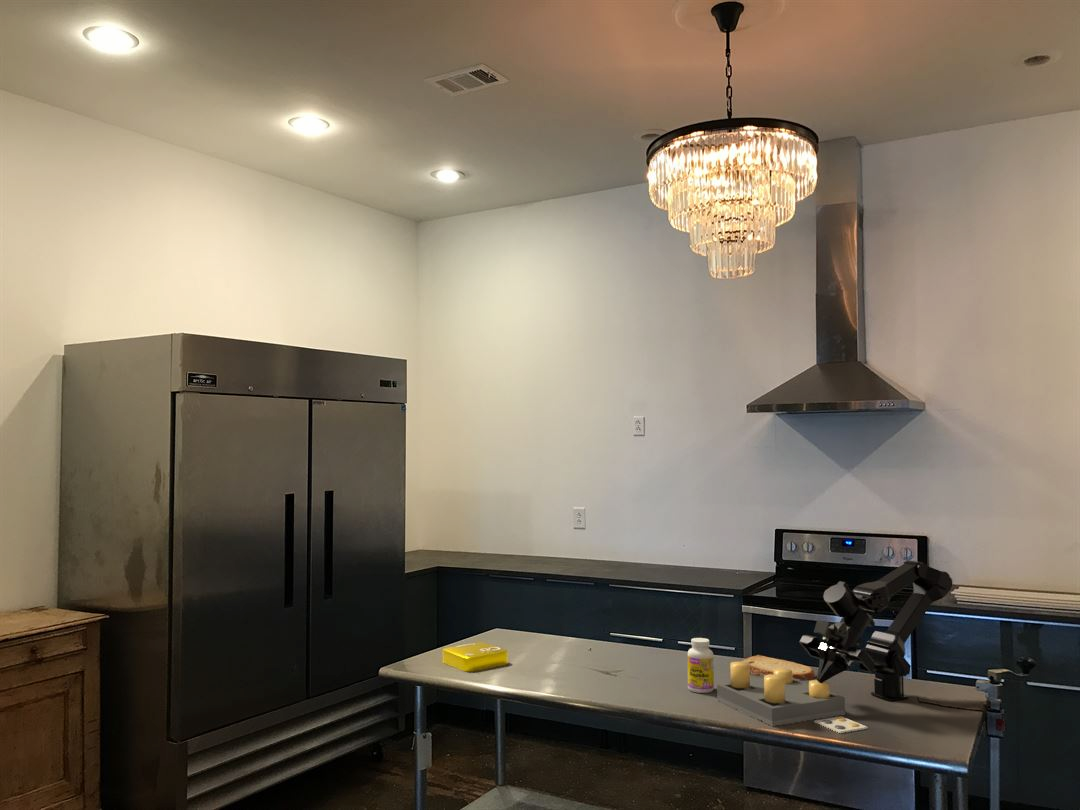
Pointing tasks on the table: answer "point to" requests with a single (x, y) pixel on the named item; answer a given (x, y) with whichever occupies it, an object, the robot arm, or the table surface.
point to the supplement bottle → (700, 666)
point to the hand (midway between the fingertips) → (819, 681)
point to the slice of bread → (767, 665)
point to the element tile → (475, 656)
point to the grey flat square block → (789, 711)
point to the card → (841, 724)
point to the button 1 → (740, 674)
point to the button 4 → (819, 689)
